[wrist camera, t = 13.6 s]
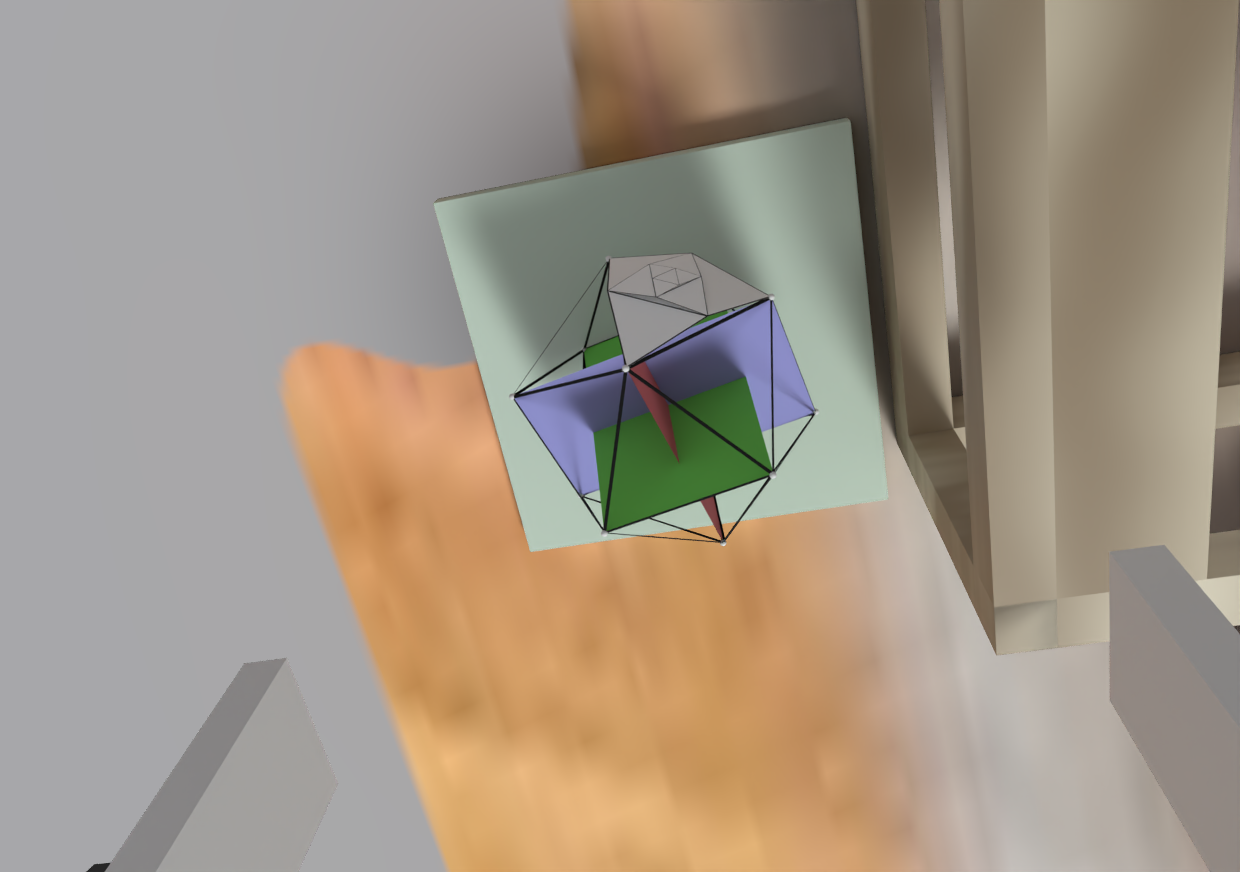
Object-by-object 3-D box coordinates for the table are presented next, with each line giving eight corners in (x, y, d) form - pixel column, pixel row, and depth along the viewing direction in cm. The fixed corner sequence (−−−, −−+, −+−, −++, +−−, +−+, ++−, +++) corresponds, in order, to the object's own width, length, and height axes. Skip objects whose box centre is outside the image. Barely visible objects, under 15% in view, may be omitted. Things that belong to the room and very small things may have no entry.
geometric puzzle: (856, 511, 27) (837, 472, 19) (626, 587, 28) (525, 579, 21) (772, 279, 29) (724, 160, 21) (559, 361, 30) (443, 278, 23)
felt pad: (846, 117, 25) (850, 120, 25) (884, 489, 30) (888, 499, 29) (438, 198, 27) (433, 203, 26) (533, 541, 31) (530, 552, 31)
